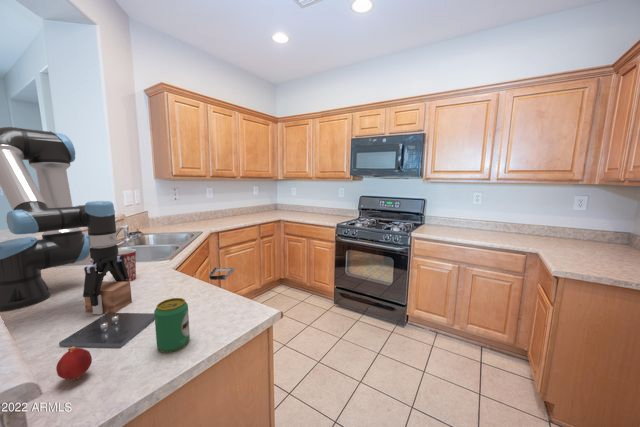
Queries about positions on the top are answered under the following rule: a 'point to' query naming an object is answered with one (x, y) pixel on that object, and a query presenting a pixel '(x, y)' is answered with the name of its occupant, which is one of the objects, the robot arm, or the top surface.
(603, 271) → the top surface
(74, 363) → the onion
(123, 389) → the top surface
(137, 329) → the boss plate
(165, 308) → the beverage can
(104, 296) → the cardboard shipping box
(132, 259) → the red patterned paper cup
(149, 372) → the top surface
